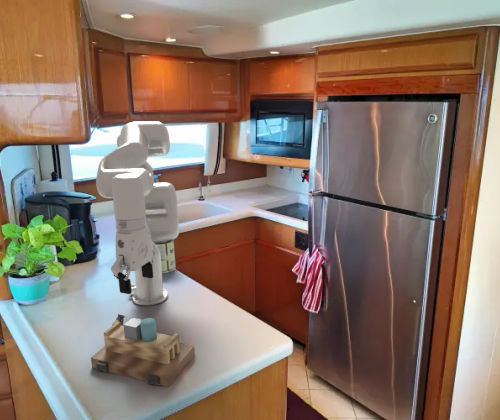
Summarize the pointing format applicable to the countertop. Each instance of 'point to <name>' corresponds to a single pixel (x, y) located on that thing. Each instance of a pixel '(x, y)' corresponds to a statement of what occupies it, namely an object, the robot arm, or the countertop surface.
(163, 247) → the coffee can
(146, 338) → the teal cylinder
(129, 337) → the grey cube
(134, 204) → the robot arm
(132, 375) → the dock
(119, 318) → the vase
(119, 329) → the light wood long block
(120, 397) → the countertop surface
